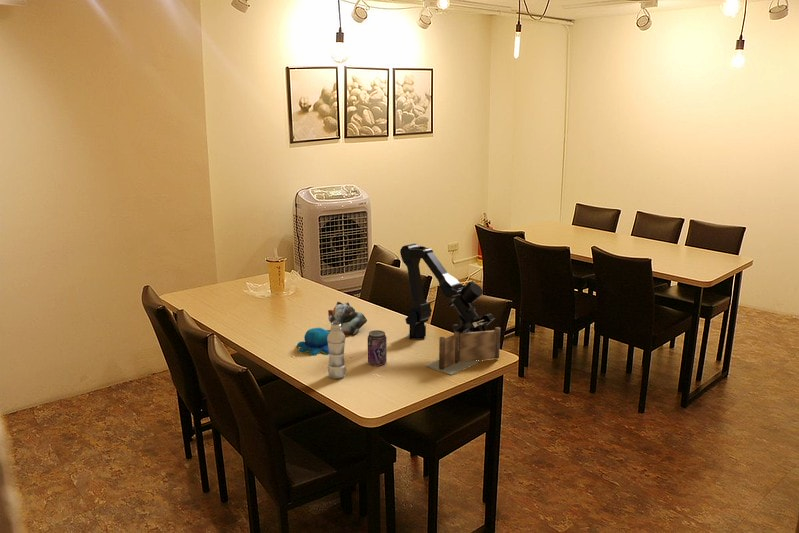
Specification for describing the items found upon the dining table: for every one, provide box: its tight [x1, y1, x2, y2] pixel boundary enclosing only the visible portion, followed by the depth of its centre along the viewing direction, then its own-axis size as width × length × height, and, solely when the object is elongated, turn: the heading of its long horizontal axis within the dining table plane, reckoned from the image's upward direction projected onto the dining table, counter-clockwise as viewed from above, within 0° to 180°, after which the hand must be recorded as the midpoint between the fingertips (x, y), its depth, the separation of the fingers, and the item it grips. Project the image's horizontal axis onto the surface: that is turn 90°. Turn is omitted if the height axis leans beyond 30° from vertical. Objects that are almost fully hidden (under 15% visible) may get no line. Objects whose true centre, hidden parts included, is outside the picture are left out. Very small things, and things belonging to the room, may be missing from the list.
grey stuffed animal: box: [327, 301, 368, 336], centre depth 272 cm, size 15×12×14 cm
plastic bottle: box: [327, 322, 347, 380], centre depth 223 cm, size 6×7×20 cm
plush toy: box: [296, 327, 331, 356], centre depth 253 cm, size 17×17×8 cm
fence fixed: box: [438, 331, 459, 370], centre depth 234 cm, size 10×2×12 cm, turn 136°
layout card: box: [426, 358, 483, 376], centre depth 240 cm, size 12×25×1 cm, turn 137°
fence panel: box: [458, 326, 501, 362], centre depth 239 cm, size 16×2×12 cm, turn 104°
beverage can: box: [367, 329, 388, 367], centre depth 237 cm, size 7×7×12 cm
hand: (487, 343), depth 241 cm, fingers closed
